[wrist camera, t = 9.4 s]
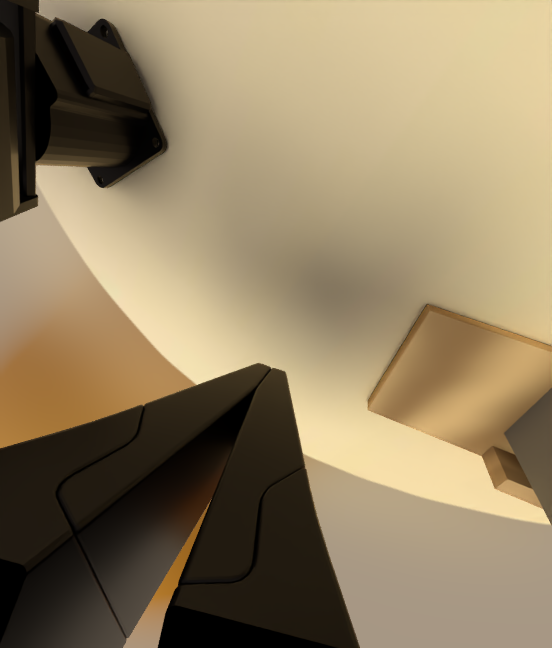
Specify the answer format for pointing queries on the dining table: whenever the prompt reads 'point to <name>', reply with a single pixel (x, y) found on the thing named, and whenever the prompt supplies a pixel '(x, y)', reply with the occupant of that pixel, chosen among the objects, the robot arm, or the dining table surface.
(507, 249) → the dining table surface
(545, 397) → the plug block
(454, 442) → the wooden stand
